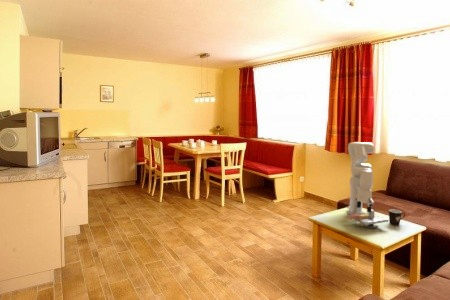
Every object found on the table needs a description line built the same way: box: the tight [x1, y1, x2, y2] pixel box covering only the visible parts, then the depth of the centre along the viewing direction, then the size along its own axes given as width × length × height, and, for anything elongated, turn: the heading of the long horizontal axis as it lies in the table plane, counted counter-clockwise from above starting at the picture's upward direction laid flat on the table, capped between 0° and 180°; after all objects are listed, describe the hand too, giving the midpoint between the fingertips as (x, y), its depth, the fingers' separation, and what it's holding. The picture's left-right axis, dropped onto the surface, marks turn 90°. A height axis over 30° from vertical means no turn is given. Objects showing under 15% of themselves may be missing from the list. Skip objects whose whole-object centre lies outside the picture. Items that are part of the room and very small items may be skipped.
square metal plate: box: [346, 208, 389, 229], centre depth 220 cm, size 18×21×12 cm
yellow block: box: [359, 214, 369, 227], centre depth 219 cm, size 3×7×8 cm, turn 109°
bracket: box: [348, 213, 361, 221], centre depth 216 cm, size 6×8×3 cm
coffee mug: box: [388, 208, 406, 227], centre depth 224 cm, size 12×9×10 cm
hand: (363, 209), depth 219 cm, fingers open, 9 cm apart
